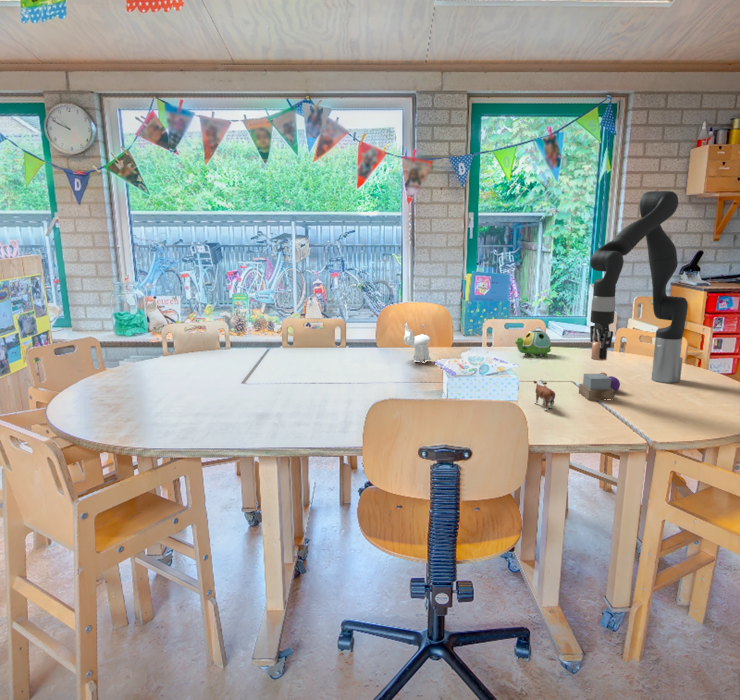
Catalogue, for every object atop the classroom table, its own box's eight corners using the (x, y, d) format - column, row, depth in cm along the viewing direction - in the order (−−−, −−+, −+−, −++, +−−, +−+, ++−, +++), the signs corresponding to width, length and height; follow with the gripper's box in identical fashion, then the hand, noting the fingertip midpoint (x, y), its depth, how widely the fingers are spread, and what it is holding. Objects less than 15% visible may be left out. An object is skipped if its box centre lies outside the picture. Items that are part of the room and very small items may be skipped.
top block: (602, 384, 198) (603, 373, 197) (610, 389, 191) (611, 378, 190) (582, 384, 198) (583, 373, 197) (590, 389, 191) (591, 378, 191)
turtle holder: (508, 354, 267) (509, 330, 265) (542, 351, 271) (543, 328, 269) (520, 359, 256) (522, 334, 253) (555, 357, 260) (557, 332, 257)
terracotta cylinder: (603, 357, 194) (604, 340, 193) (609, 360, 190) (610, 343, 188) (589, 357, 194) (590, 341, 193) (594, 360, 190) (595, 343, 188)
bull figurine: (542, 400, 192) (543, 377, 190) (556, 412, 179) (558, 388, 177) (530, 400, 192) (531, 378, 190) (543, 412, 179) (544, 388, 177)
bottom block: (603, 393, 200) (603, 383, 199) (613, 401, 191) (614, 390, 190) (578, 394, 200) (579, 383, 199) (588, 401, 191) (589, 390, 190)
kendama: (612, 371, 216) (623, 380, 197) (608, 385, 217) (619, 395, 198) (597, 367, 217) (606, 376, 198) (593, 382, 218) (601, 391, 199)
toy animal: (402, 357, 264) (400, 322, 260) (427, 355, 264) (426, 321, 261) (407, 367, 244) (405, 329, 241) (434, 365, 245) (433, 328, 241)
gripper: (623, 311, 181) (618, 361, 185) (605, 306, 196) (601, 353, 199) (600, 312, 182) (596, 361, 185) (584, 306, 196) (580, 353, 199)
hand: (599, 356), depth 192 cm, fingers closed on terracotta cylinder, 5 cm apart
